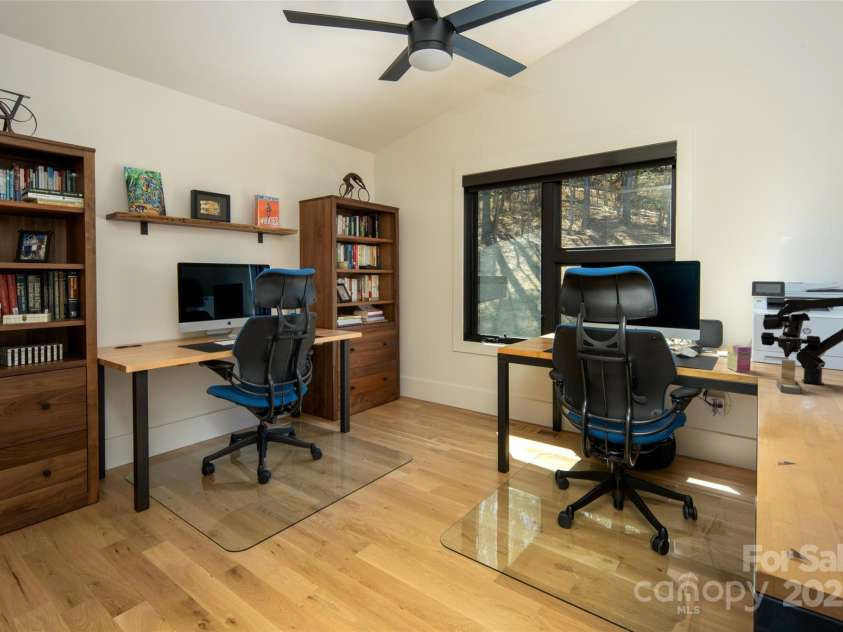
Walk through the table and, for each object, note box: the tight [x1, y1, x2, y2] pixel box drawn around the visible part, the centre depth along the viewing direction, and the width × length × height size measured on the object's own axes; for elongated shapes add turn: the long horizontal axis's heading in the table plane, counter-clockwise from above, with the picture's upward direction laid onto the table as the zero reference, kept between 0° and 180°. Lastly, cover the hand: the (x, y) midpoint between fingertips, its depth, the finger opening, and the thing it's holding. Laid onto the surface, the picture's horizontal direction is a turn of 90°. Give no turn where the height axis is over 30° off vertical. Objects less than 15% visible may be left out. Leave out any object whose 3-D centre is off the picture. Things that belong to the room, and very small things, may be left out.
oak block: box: [780, 359, 796, 385], centre depth 179 cm, size 4×4×9 cm
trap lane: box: [776, 378, 803, 395], centre depth 177 cm, size 12×6×3 cm, turn 149°
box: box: [726, 343, 752, 373], centre depth 216 cm, size 10×6×12 cm, turn 168°
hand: (786, 356), depth 184 cm, fingers closed
